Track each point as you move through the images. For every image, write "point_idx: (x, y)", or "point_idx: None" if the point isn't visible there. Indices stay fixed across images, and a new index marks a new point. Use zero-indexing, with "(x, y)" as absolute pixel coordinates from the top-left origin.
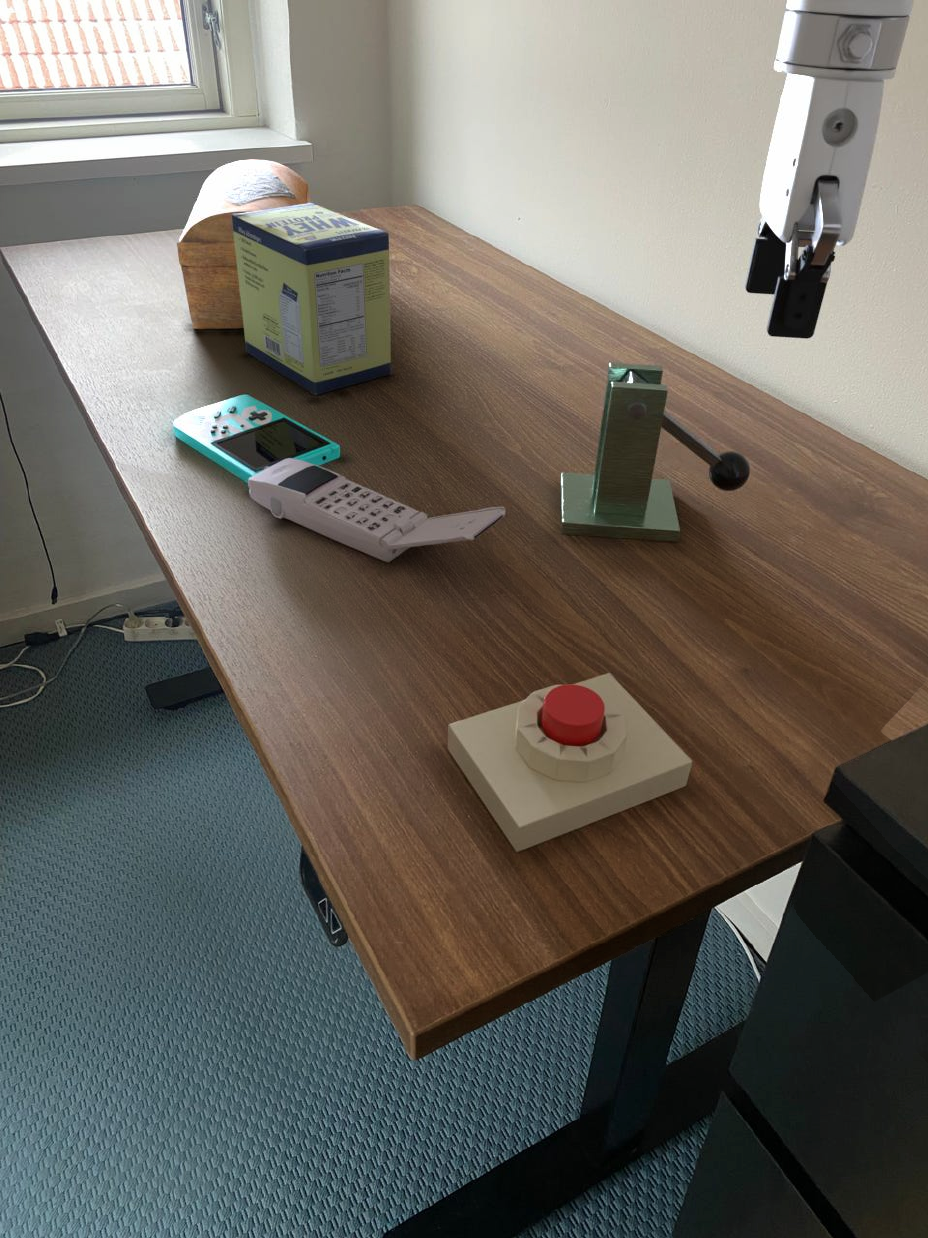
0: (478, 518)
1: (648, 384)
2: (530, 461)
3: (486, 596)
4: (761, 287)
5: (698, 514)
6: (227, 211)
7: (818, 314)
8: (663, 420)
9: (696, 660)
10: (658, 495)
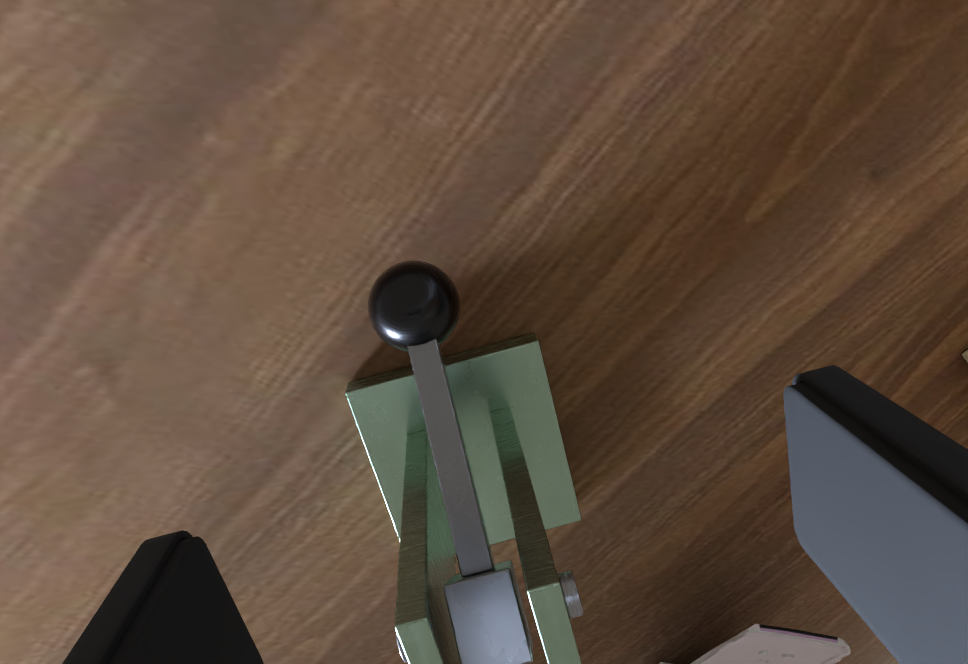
0: (761, 648)
1: (544, 628)
2: (352, 612)
3: (770, 546)
4: (236, 646)
5: None
6: None
7: (904, 411)
8: (481, 516)
9: (862, 250)
10: None
